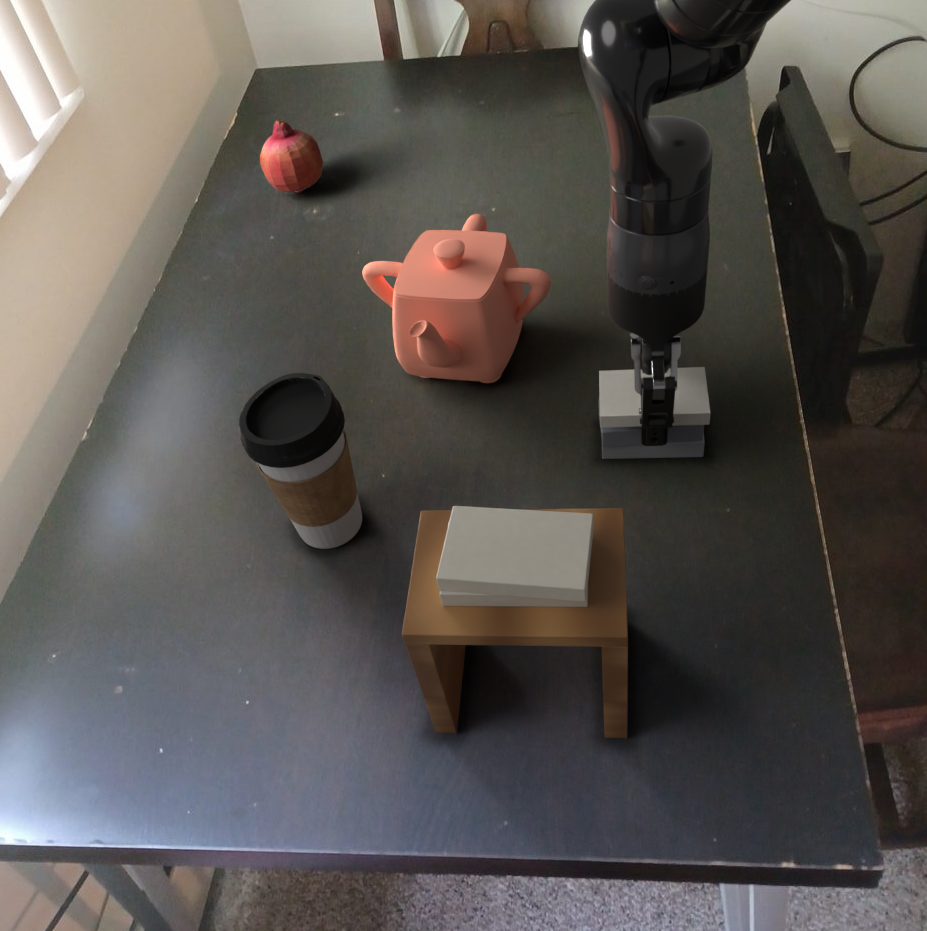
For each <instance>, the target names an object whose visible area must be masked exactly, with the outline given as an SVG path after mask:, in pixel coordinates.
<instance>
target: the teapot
mask: <svg viewBox="0 0 927 931" xmlns="http://www.w3.org/2000/svg"><path fill="white" fill-rule="evenodd" d="M487 222H488V221H487V219H486V216H484V215H483V214H481V213H473V214H471V215H470V216H469V217H467V219H466V221H465V222H464V225H463V227H462V229H459V230H458V229H426V230H425V231H423V232H422V233H421V234H419V236H418V238H417V239H416V240H415V242H413V244H412V246H411V248H410V250H409V251H408V252H407V254H406V256H405V258H404V260H403V262H400V261H399V262H398V261H391V260H390V261H388V260H376V261H371V262H368V263H367V264H366V265H364V267H363V269H362V271H361V272H362V279H363V280H364V282H365V283H366V285H367V286H368V288H369V289H370V290H371V291H372V292H373V293H374V294H375V295H376V296H377V297H378V298H379V299H381V300H382V301H383V302H384V303H385V304H387V306H389V307H390V308H391V309H392V316H391V317H392V337H393V338H392V339H393V346H394V352H395V356H396V359H397V361H398V363H399V364H400V366H401V367H402V369H403V370H404V371H405V372H406V373H407V375H412V376H416V377H421V378H422V379H423V378H424V379H431V378H432V379H442V380H450V381H451V380H453V381H467V382H469V381H470V382H480V383H483V384H493V383H495V382H497V381H498V380H499V379H500V378H501V377H502V375H503V372H504V370H506V367H507V365H508V363H509V361H510V359H511V357H512V356H513V353H514V351H515V349H516V346H517V344H518V341H519V339H520V338H519V337H520V336H521V331H522V327H523V322H524V318H526V316H529V314H531V313H532V312H533V311H534V310H535V309H536V308H537V307H538V306H539V305H540V304H541V303H542V302H543V301H544V300H545V299H546V297H547V295H548V294H549V292H550V289H551V286H552V279H551V276H550V275H549V274H548V273H547V272H546V271H544V270H543V269H539V268H533V267H532V268H531V267H520V265H519V262H518V258H517V256H516V253H515V251H514V248H513V246H512V243H511V241H510V239H509V236H508V234H506V233H504V232H497V231H495V232H494V231H488V223H487ZM385 276H386V277H387V276H388V277H396V280H395V283H394V285H393V287H392V286H391V285H390V283H389V282H388V281H387V279H385ZM524 284H526V285H529V287H530V289H529V292H528V294H527V295H526V291H525V286H524Z"/></svg>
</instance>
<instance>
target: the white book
mask: <svg viewBox="0 0 927 931" xmlns="http://www.w3.org/2000/svg"><path fill="white" fill-rule="evenodd" d="M598 373H599V374H598V380H599V381H598V383H599V384H598V385H599V386H598V387H599V388H598V389H599V393H598V394H599V398H600V420H599V428H600V427H601V428H603V427H639V426H641V424H640V418H641V414H639V408H641V407H640V394H639V393H637V392H636V391H635V386H634V369H613V370H612V369H611V370H609V369H608V370H599V371H598ZM669 376H670V367H669V370H668V371H667V373H665V377H669ZM643 377H652V375H646V374H644V373H643V372H642V369H641V378H642V379H643ZM673 417H674V423H673V424H672V426H676V425H704V426H706V425H707V426H709V425H710V422H711V406H710V399H709V391H708V382H707V374H706V367H705V366H694V367H692V366H691V367H689V366H688V367H677V390H676V391H675V399H674V411H673Z"/></svg>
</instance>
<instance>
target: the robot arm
mask: <svg viewBox="0 0 927 931" xmlns="http://www.w3.org/2000/svg"><path fill="white" fill-rule="evenodd" d="M791 1H792V0H594V1H593V3H592V4H591V5H590V6H589V8H588V9H587V10H586V12H585V14H584V16H583V19H582V22H581V25H580V28H579V32H578V38H577V55H578V61H579V65H580V69H581V72H582V75H583V78H584V81H585V84H586V87H587V90H588V92H589V96H590V98H591V101H592V103H593V106H594V109H595V113H596V117H597V119H598V123H599V126H600V131H601V134H602V139H603V143H604V147H605V151H606V159H607V164H608V165H607V166H608V208H609V212H608V215H609V216H608V222H607V229H606V285H607V286H606V287H607V288H606V290H607V291H606V292H607V293H606V294H607V311H608V314H609V316H610V318H611V320H612V321H613V322H614V323H615V324H616V325H617V326H618V327H619V328H621V329H622V330H623V331H625V332H627V333H629V336H630V357H631V360H632V361H633V370H634V386H635V391H636V392H637V393H639V394H640V407H641V408H639V414H641V418H640V424H641V443H642V445H644V446H663V445H666V444H667V439H668V428H672V424H673V423H674V417H673V411H674V399H675V391H676V390H677V368H678V362H679V361H678V360H679V359H680V357H681V356H682V337H681V335H679V334H680V333H682V332H684V331H686V330H688V329H689V328H691V327H692V326H694V325H695V324H696V323H697V322H698V321H699V320H700V318H701V317H702V315H703V312H704V310H705V304H706V294H707V292H706V290H707V280H708V267H709V255H710V254H709V253H710V244H711V243H710V241H711V229H710V228H711V227H710V226H711V225H710V217H709V216H710V214H709V213H710V211H709V210H710V209H709V208H710V207H709V205H710V194H711V182H712V181H711V180H712V172H713V171H712V170H713V142H712V139H711V136H710V133H709V132H708V131H707V129H706V128H705V127H704V126H703V125H702V124H701V123H699V122H698V121H696V120H693V119H691V118H688V117H684V116H678V115H663V114H662V115H661V114H660V115H657V114H655V115H650V109H651V107H652V106H655V105H658V104H661V103H665V102H668V101H672V100H676V99H679V98H682V97H685V96H690V95H693V94H697V93H700V92H704V91H706V90H710V89H712V88H715V87H718V86H720V85H721V84H724V83H725V82H727V81H730V79H732V78H734V77H735V76H737V75H738V74H739V73H741V72H742V71H743V70H744V69H745V68H746V66H747V65H748V64H749V63H750V61H751V59H752V57H753V55H754V52H755V50H756V48H757V46H758V44H759V41H760V40H761V37H762V36H763V33H764V31H765V29H766V26H767V23H769V21H770V20H772V18H774V17H775V16H776V15H777V14H778V13H779V12H780V11H781V10H782V9H783V8H785V7H786V6H787V5H788V4H789V3H790V2H791ZM669 368H670V376H669V377H665V373H667V371H668V370H669ZM641 369H642V372H643V373H644V374H646V375H652V377H643V379H642V378H641Z"/></svg>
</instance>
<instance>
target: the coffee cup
mask: <svg viewBox="0 0 927 931" xmlns="http://www.w3.org/2000/svg"><path fill="white" fill-rule="evenodd" d="M345 422H346V420H345V412H344V410H343V407H342V405H341V403H340V401H339V400H338V398H337V397H336V396H335V394H334V393H333V390H332V389H331V387H330V386H329V384H328V383H327V381H326V380H325V379H324V378H323V377H322V376H320V375H318V374H313V373H307V372H293V373H287V374H283V375H280V376H278V377H277V378H274V379H272V380H270V381H269V382H268V383H266V384H264V385H263V386H261V387H260V388H259V389H258V390H257V391H255V392H254V394H253V395H251V396H250V398H249V399H248V400H247V401H246V402H245V404H244V406H243V408H242V409H241V412H240V414H239V418H238V426H239V431H240V442H241V445H242V447H243V449H244V451H245V453H246V454H247V456H248V458H250V459H252V460H253V461H254V462H255V464H256V466H257V469H258V471H259V472H260V474H261V476H262V477H263V479H264V480H265V482H266V483H267V485H268V486H269V489H270V490H271V491H272V493H273V495H274V496H275V498H276V499H277V501H278V503H279V504H280V506H281V507H282V509H283V511H284V512H285V514H286V515H287V517H288V518H289V520H290V521H291V523H292V525H293V526H294V528H295V530H296V532H297V533H298V535H299V537H300V538H301V539H302V541H303V542H304V543H305V544H306V545H308V546H310V547H312V548H316V549H321V550H328V549H329V550H330V549H334V548H338V547H341V546H343V545H344V544H346V543H348V542H350V541H351V540H352V539H353V538H354V537H355V536H356V535H357V533H358V532H359V530H360V529H361V526H362V523H363V513H362V508H361V502H360V499H359V495H358V489H357V488H358V487H357V483H356V478H355V472H354V468H353V462H352V458H351V452H350V447H349V442H348V436H347V433H346V431H345Z"/></svg>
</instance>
